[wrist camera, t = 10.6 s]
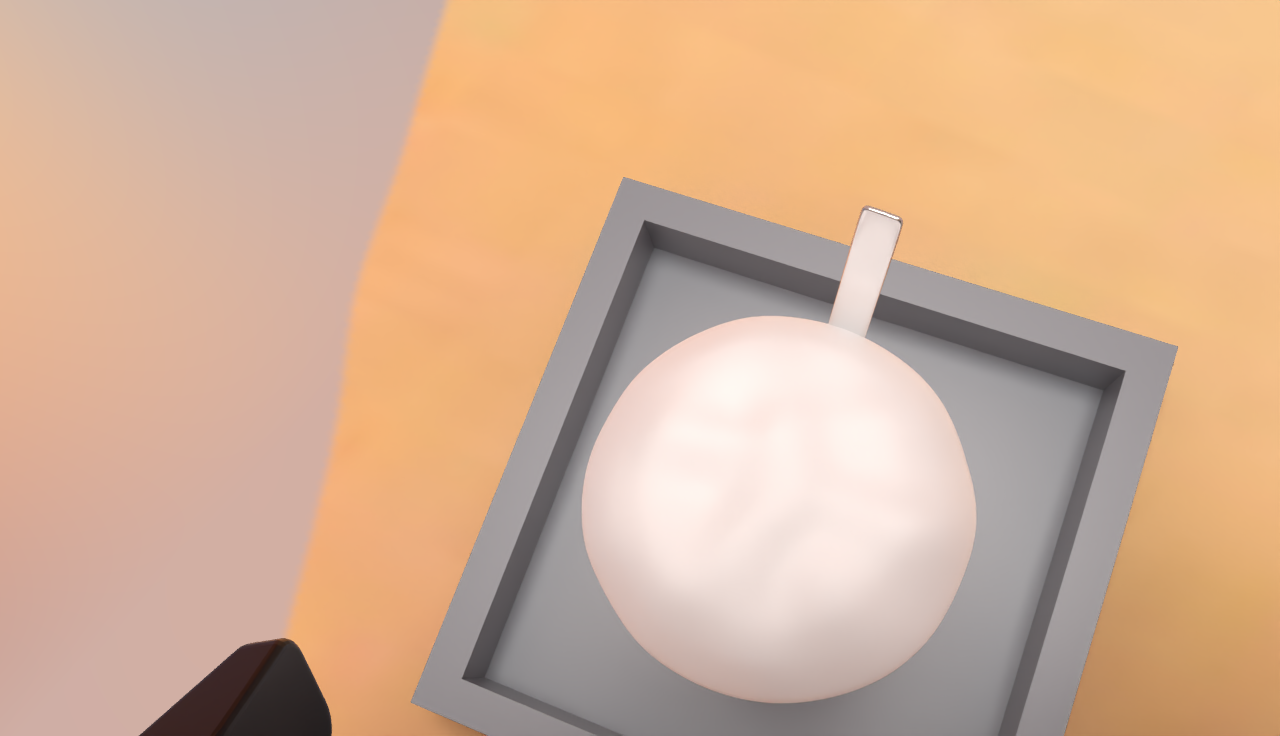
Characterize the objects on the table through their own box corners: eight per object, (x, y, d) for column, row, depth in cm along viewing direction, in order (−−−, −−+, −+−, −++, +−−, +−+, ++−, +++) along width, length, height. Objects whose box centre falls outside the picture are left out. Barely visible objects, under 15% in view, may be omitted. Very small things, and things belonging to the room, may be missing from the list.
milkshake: (960, 455, 21) (1099, 288, 11) (850, 728, 20) (900, 796, 11) (735, 364, 22) (690, 139, 12) (621, 620, 21) (477, 591, 12)
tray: (979, 925, 20) (999, 955, 18) (444, 698, 22) (410, 702, 20) (1144, 374, 21) (1178, 346, 20) (637, 215, 24) (623, 176, 22)
